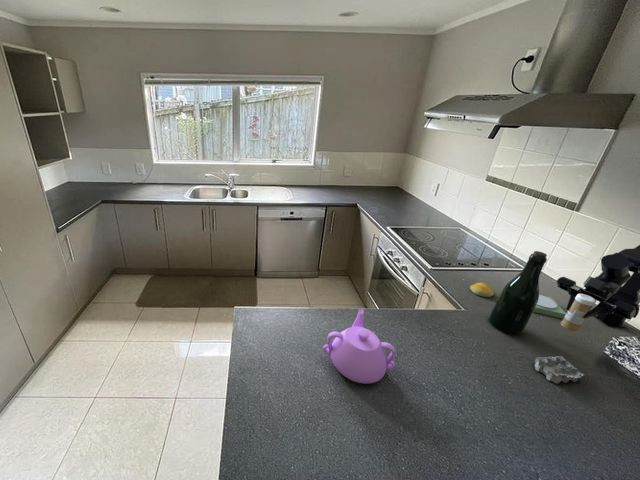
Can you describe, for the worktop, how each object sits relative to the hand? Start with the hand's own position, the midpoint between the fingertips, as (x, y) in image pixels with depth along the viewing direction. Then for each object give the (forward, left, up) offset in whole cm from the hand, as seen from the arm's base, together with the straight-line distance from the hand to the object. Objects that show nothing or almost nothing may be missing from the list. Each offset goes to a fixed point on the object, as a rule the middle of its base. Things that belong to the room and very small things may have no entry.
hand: (575, 313), depth 98 cm
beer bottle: (+15, -5, -13) cm, 21 cm away
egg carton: (+13, +16, -13) cm, 24 cm away
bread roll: (+11, -28, -13) cm, 33 cm away
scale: (-8, -22, -13) cm, 27 cm away
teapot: (+77, +22, -13) cm, 81 cm away
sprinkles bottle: (-1, -1, -7) cm, 7 cm away
